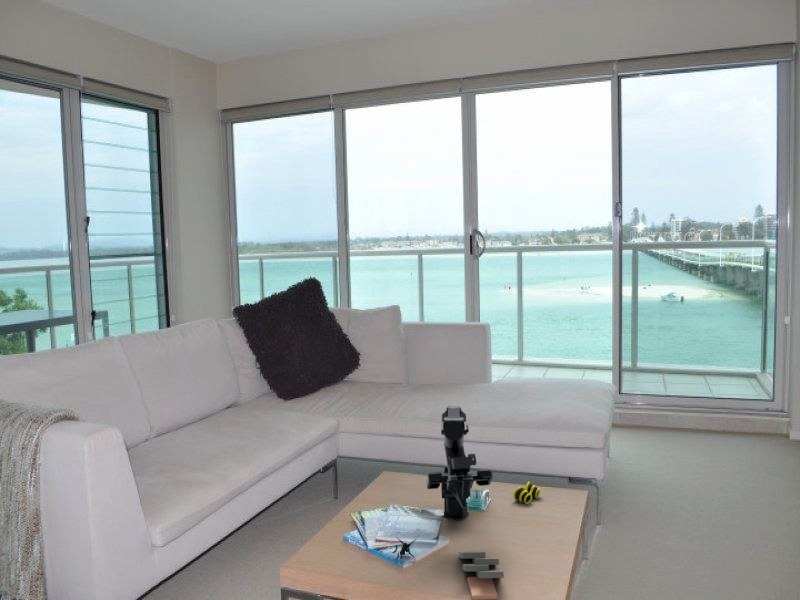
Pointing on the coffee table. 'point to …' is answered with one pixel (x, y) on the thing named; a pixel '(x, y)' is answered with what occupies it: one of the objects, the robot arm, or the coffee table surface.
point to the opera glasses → (526, 493)
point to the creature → (404, 549)
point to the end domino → (482, 588)
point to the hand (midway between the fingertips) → (463, 507)
